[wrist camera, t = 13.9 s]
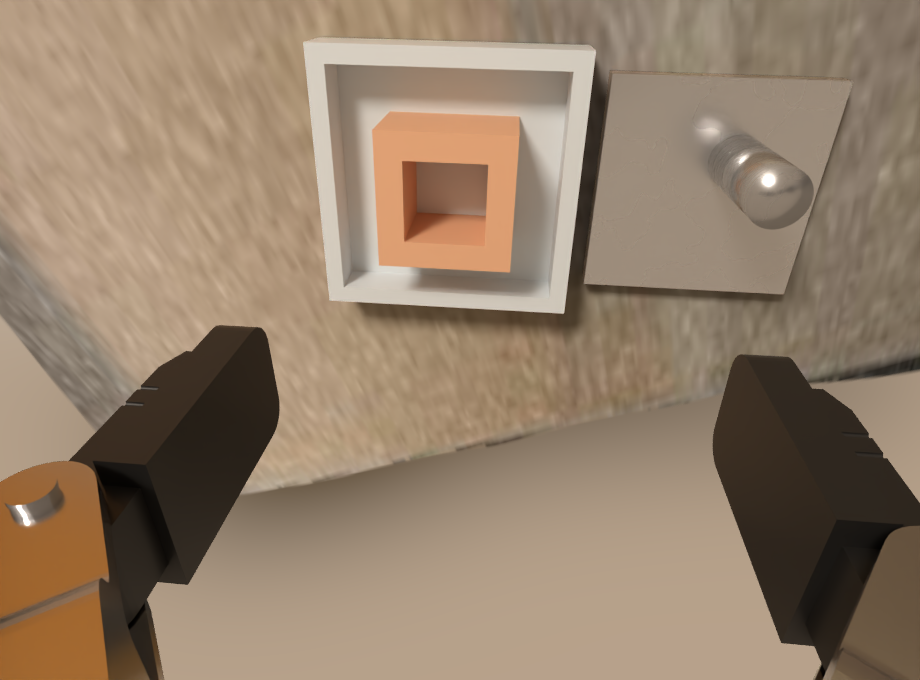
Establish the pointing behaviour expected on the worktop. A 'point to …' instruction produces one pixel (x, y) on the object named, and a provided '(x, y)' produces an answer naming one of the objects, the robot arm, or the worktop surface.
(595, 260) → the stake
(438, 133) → the ring
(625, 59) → the worktop surface
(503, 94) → the tray
